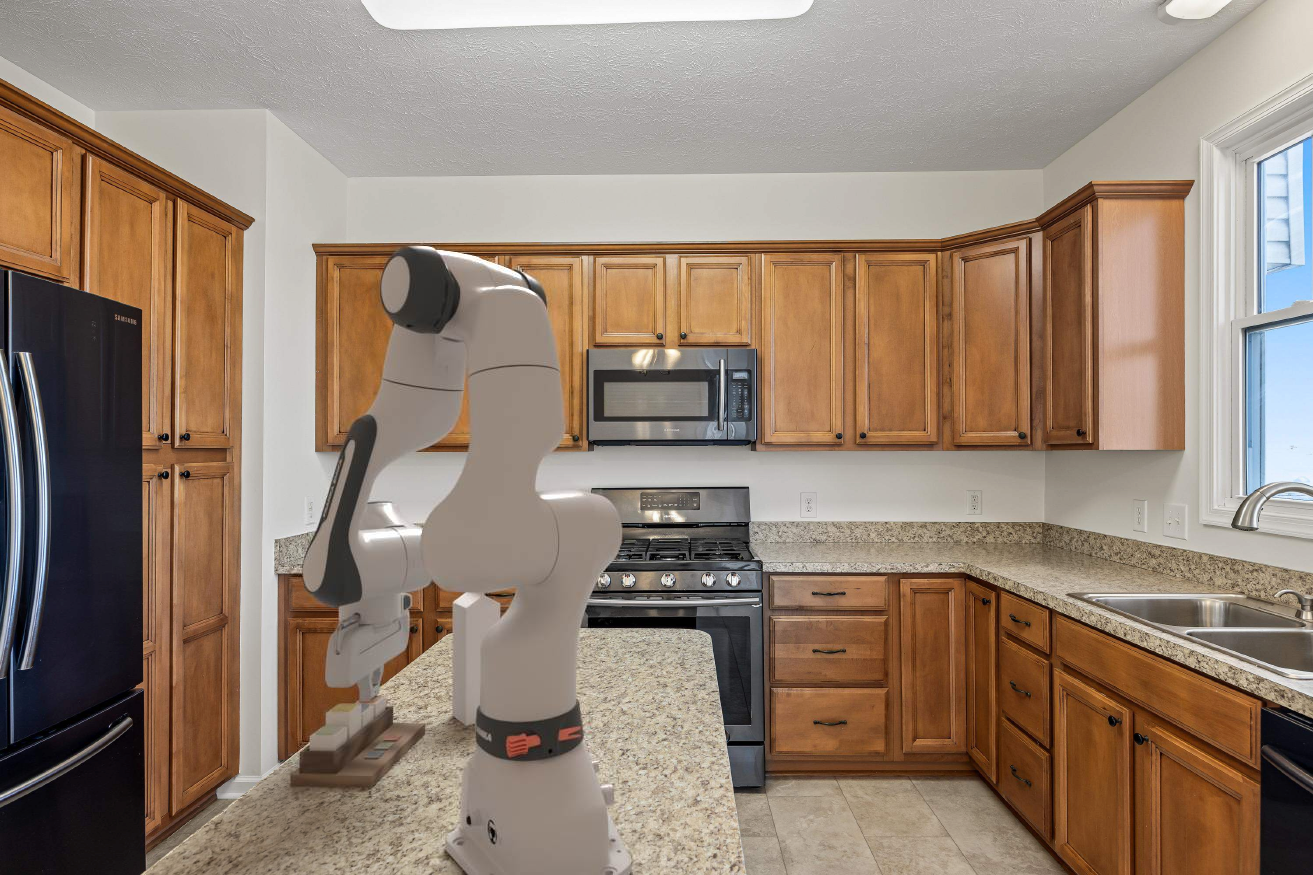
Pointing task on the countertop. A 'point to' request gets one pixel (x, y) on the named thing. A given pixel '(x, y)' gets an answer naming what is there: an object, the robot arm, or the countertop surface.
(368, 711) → the key slate
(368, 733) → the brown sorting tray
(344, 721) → the key mustard
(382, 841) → the countertop surface
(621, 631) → the countertop surface
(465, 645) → the milk
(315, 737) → the key sage
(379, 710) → the key terracotta
